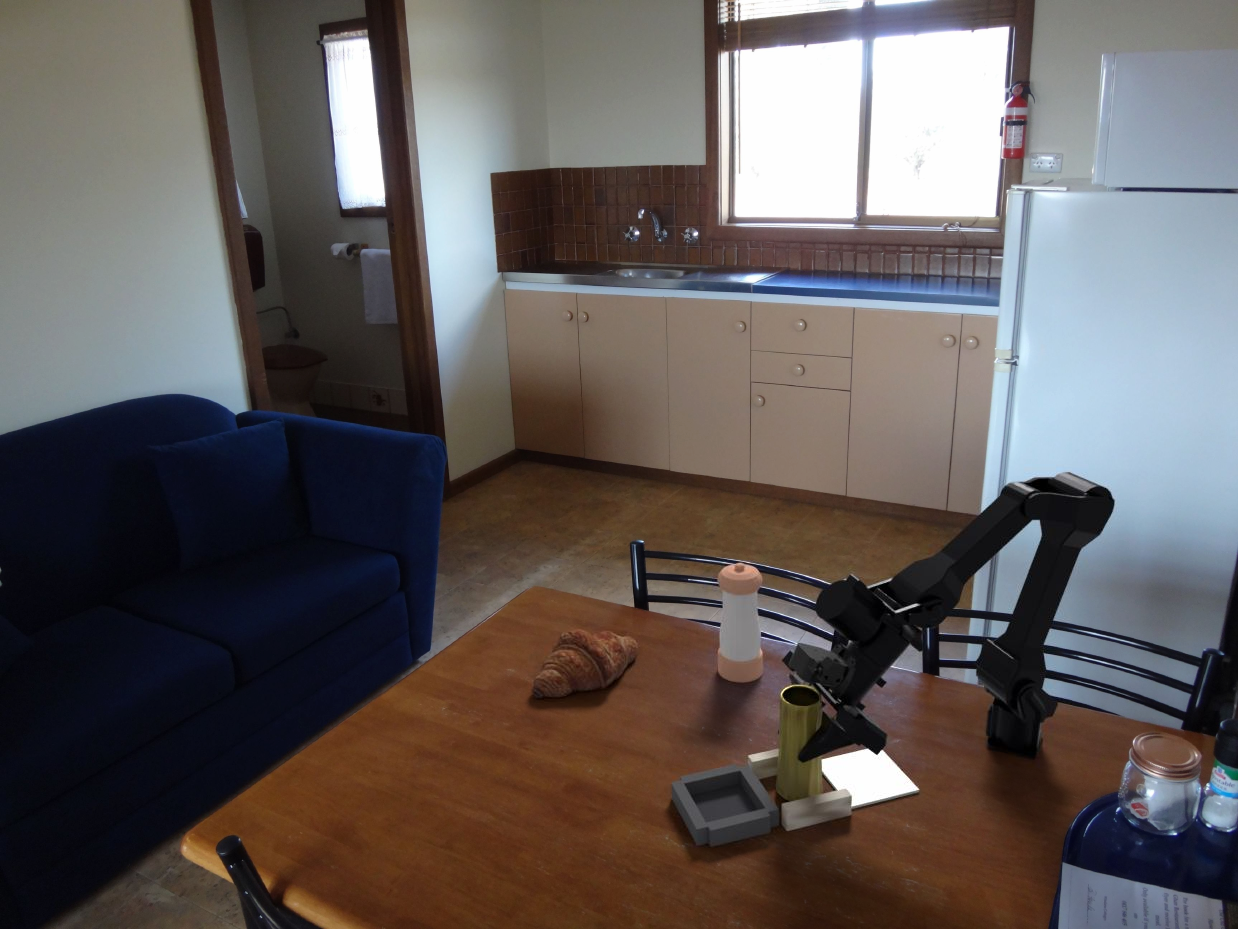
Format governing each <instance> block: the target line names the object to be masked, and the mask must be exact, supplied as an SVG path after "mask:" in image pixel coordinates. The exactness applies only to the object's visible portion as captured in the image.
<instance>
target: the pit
mask: <svg viewBox="0 0 1238 929" xmlns="http://www.w3.org/2000/svg"><path fill="white" fill-rule="evenodd" d="M670 786H671V787H670V788H671V789H670V790H671V791H670V793H671V800H672V801H673V804H674V805H675V807H676V810H677V811H678V813H679V815H680V817H681V818H682V820H683V822H684V824H685V826H686V828H687V829H688V831H689V833H690V836H691V837H692V839H693V842H694V843H695V845H696V847H699V846H703V845H709V847H710V848H713V847H716V846H717V847H718V846H721V845H726V844H730V843H734V842H737V841H741V840H747V839H749V838H753V837H757V836H760V835H761V836H762V835H764V834H769V833H771V828H774V827H779V826H780V809H779V807H778V806H777V804H776V803H775V801H774V800H773V799H772V797H771V796H770V794H769V793H768V791H767V790H766V789H765V787H764V785H763V784H762V783H761V781H760V779H758V778H757V777H756V775H755V774H754V772H753V771H752V769H751V768H750V767H749V765H748V764H746V765H742V766H738V765H737V763H734V764H730V765H726V766H721V767H717V768H711V769H708V770H704V771H703V770H702V771H699V772H694V773H689V774H685V775H681V776H679V780H676V781H672V782H670Z"/></svg>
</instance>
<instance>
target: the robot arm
mask: <svg viewBox="0 0 1238 929" xmlns="http://www.w3.org/2000/svg"><path fill="white" fill-rule="evenodd" d="M1115 501H1116V500H1115V498H1114V497H1113V494H1112V492H1111V490H1109V488H1108V487H1105V486H1102V485H1100V484H1098V483H1096V482H1093V481H1091V480H1089V479H1087V478H1084V477H1082V476H1079V475H1078V474H1074V473H1073V472H1071V471H1063V472H1061V473H1058V474H1056V475H1055V476H1038V477H1037V476H1036V477H1033V478H1030V479H1028V480H1026V481H1012V482H1008V483H1007V484H1005V485H1004V486H1003V487H1002V488H1001V491H1000V494H999V496H998V497H997V498H996V499H994V500H993V501H992V502H991V503H990V504H989V505H988V506H987V507H986V508H984V509H983V510H982V512H980V514H978V515H977V516H976V517H975V518H974V519H973V520H972V521H971V522H970V523H969V524H968V525H966V526H965V527H964V528H963V529H962V530H961V531H960V532H959V533H958V534H956V536H955V537H953V539H951V540H950V542H948V543H947V544H946V545H945V546H944V547H943V548H941V550H939V551H938V552H936V553H935V554H933V555H932V556H928V557H925V558H923V559H920V560H919V559H918V560H915V561H914V562H912V563H911V564H909V565H908V566H906V567H905V568H903V569H902V570H901V571H899V572H898V573H897V574H895V575H894V576H893V577H891V578H889V579H888V578H887V579H885V580H881V581H880V582H876V583H872V584H870V585H866V584H865V583H864V582H863V581H862V580H860V578H858V577H857V576H855V575H854V574H853V573H850V574H849V575H848V577H846V578H845V579H843V580H840V579H839V580H836V581H834V582H832V583H830V584H829V585H827V586H824V587H823V589H822V590H821V591H820V593H819V594H818V596H817V598H816V601H815V606H814V607H815V609H814V610H815V613H816V616H817V617H818V618H819V619H821V620H822V621H823V622H825V623H826V624H827V625H828V626H830V627H831V628H832V629H834V630H835V631H836V632H837V633H839V634H840V635H841V636H843V637H844V638H845V639H846V640H848V641H850V642H849V643H848V644H847V645H846V646H845V645H844V644H843V643H841V642H840V643H839V644H836V645H834V647H833V648H832V649H831V650H828V649H825V648H822V647H819V646H815V645H811V644H807V643H803V642H797V644H796V647H795V649H790V650H789V651H788V652H787V653H786V654H785V655H784V657H783V658H782V659H781V662H783V664H784V666H786V667H787V668H788V669H789V670H790V671H791V672H796V673H795V674H794V675H793V674H792V673H789V674H788V678H789V680H790V683H791V684H790V686H791V685H806V686H810V687H812V688H815V689H816V690H817V691H819V692H820V694H821V697H823V698H824V699H825V701H826V702H827V703H828V704H829V705H830V706H831V707H832V708H833V709H834V711H836V713H835V714H834V715H833V716H831V715H829V714H828V713H827V712H825V711H824V710H822V720H821V726H820V727H819V728H818V730H817V731H816V732H815V734H814V735H813V736H812V737H811V739H810V740H809V741H808V743H807V744H806V745H805V746H804V748H803V749H802V751H801V752H800V754H799V755H798V757H797V758H798V760H799V761H801V762H802V763H805V762H807V761H810V760H812V759H814V758H817V757H819V756H822V757H823V756H824V755H826V754H828V753H831V752H834V751H836V750H840V749H844V748H846V747H849V746H852V745H856V746H858V747H861V746H864V748H865V749H869V750H870V751H872V752H873V753H874V754H876V755H878V754H879V753H880V751H881V750H884V748H885V747H887V746H886V745H887V744H888V734H887V732H886V731H885V730H884V729H883V728H882V727H881V726H880V725H879V724H878V723H877V721H875V720H874V719H873V718H872V717H870V716H869V715H868V714H866V713H865V712H863V710H865V709H866V705H865V704H864V703H863V700H864V698H865V697H866V696H867V695H868V694H869V693H870V692H871V690H872V689H873V688H874V687H875V686H876V685H877V686H879V687H880V688H881V689H883V687H884V686H886V685H887V681H886V680H885V679H884V678H883V676H884V675H885V674H886V673H887V672H888V671H889V670H890V668H891V667H892V666H893V665H894V663H895V662H896V661H897V660H898V659H899V658H900V657H901V655H902V654H903V653H904V652H905V651H906V650H907V648H908V647H909V646H911V647H912V648H914V649H915V650H916V651H918V652H919V653H920V652H923V651H924V643H923V630H922V629H934V628H937V627H938V626H939V625H941V624H942V623H943V622H944V621H945V620H946V619H947V618H948V616H949V615H950V614H951V612H953V610H954V609H955V608H956V606H957V605H958V604H959V603H960V600H961V598H962V594H963V589H964V586H965V585H966V584H967V583H968V581H969V580H970V579H971V578H972V577H973V576H974V575H976V573H977V572H979V570H981V569H982V568H983V567H984V566H985V565H986V564H987V563H988V562H990V560H992V558H994V557H995V556H996V555H997V554H998V553H999V552H1000V551H1001V550H1002V549H1003V548H1005V546H1006V545H1008V544H1009V543H1010V542H1011V541H1012V540H1013V539H1014V538H1015V537H1016V536H1017V535H1018V534H1020V532H1022V531H1023V529H1025V528H1026V527H1027V526H1028V525H1029V524H1031V522H1032V521H1039V526H1040V531H1041V532H1040V533H1041V537H1040V541H1039V543H1038V545H1037V548H1036V551H1035V553H1034V556H1033V557H1032V558H1033V559H1032V561H1031V564H1030V566H1029V569H1028V571H1027V575H1026V577H1025V579H1024V582H1023V584H1022V587H1021V590H1020V592H1019V595H1018V597H1017V600H1016V604H1015V605H1014V608H1013V611H1012V615H1011V617H1010V619H1009V621H1008V624H1007V627H1006V629H1005V631H1004V633H1002V634H1001V635H999V636H998V637H997V638H996V639H994V640H990V639H988V638H987V639H985V640H984V641H983V642H982V646H981V650H980V654H978V656H977V658H976V660H975V661H974V665H976V670H975V676H976V678H977V679H978V681H979V683H980V684H982V686H983V687H984V692H986V694H987V693H988V694H990V695H991V696H992V697H994V699H993V701H992V702H990V703H989V706H988V709H987V712H986V713H987V714H986V715H987V716H986V724H985V736H986V737H987V740H986V747H987V748H989V749H993V750H997V751H1001V752H1004V753H1009V754H1013V755H1017V756H1020V757H1024V758H1028V759H1032V760H1034V759H1035V760H1036V759H1037V757H1038V754H1039V750H1040V745H1041V740H1042V737H1043V732H1042V725H1043V723H1045V720H1046V719H1048V718H1052V717H1054V714H1055V712H1056V710H1057V708H1058V706H1059V703H1058V701H1056V700H1055V699H1054V698H1053V697H1052V696H1051V695H1050V694H1049V693H1048V692H1047V691H1046V690H1044V689H1043V688H1044V683H1045V679H1046V675H1047V666H1046V659H1045V658H1046V657H1045V652H1044V645H1045V643H1046V640H1047V638H1048V636H1049V635H1048V634H1049V631H1050V630H1051V627H1052V624H1053V622H1054V621H1055V620H1054V619H1055V616H1056V614H1057V611H1058V609H1059V607H1060V604H1061V601H1062V599H1063V596H1064V594H1065V591H1066V589H1067V586H1068V583H1069V580H1070V578H1071V576H1072V574H1073V571H1074V568H1075V565H1076V563H1077V561H1078V558H1079V555H1080V553H1081V551H1082V549H1083V548H1085V547H1086V546H1087V545H1088V544H1090V543H1092V542H1093V541H1094V540H1095V539H1097V538H1098V537H1100V535H1102V533H1103V531H1104V528H1105V527H1106V525H1107V523H1108V522H1109V520H1110V518H1111V516H1112V514H1113V512H1114V508H1115V504H1116V503H1115ZM825 701H824V700H823V699H822V709H823V708H824V707H826V705H827V703H826V702H825ZM777 734H778V735H779V730H778V731H777Z"/></svg>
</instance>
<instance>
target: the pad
mask: <svg viewBox="0 0 1238 929" xmlns="http://www.w3.org/2000/svg"><path fill="white" fill-rule="evenodd" d="M822 776H824V777H825V779H826V780H827V781H828V783H829V784H830V785H831V786H832V787H833V789H834V791H837V790H841V789H845V788H846V789H847V790H848V791H849V792H850V794H851V795H852V809H851V810H854V809H857V808H861V807H866V806H870V805H873V804H877V803H881V802H885V801H890V800H893V799H896V798H898V799H899V798H901V797H905V796H909V795H914V794H917V793H920V789H919V787H918V786H917V785H915V783H914V782H913V781H912V780H911V779H910V778H909V777H908V776H907V775H906V774H905V772H904V771H902V770H901V768H900V767H899V766H898V765H897V763H895V761H894V760H893V759H891V758H890V756H888V754H887V753H886V752H885V751H884V749H882V750H881V751H880V753H879V754H878V755H876V754H874V753H873V752H872V751H870V750H869V749H867V748H865V749H860V750H857V751H851V752H849V753H848V752H847V753H845V754H841V755H840V754H839V755H835V756H832V757H831V756H830V757H828V758H822Z"/></svg>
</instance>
